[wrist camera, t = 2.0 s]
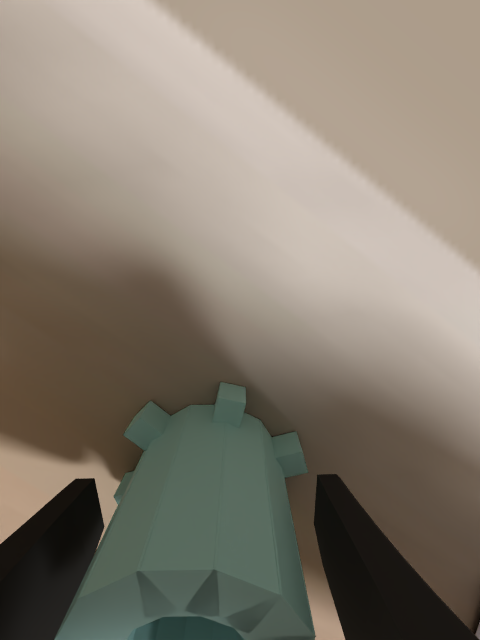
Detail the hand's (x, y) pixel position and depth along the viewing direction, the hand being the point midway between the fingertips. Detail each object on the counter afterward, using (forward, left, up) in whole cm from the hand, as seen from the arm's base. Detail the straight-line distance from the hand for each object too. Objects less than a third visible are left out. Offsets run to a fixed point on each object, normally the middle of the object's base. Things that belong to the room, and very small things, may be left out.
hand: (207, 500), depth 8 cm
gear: (0, 0, -2) cm, 2 cm away
